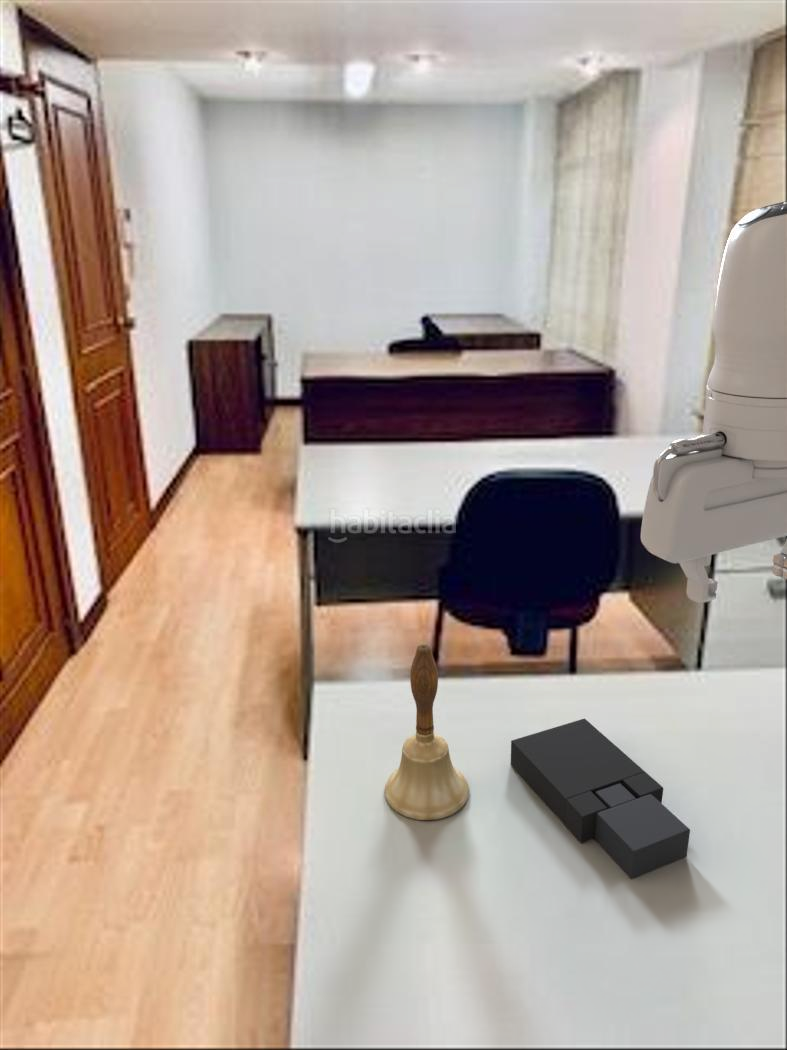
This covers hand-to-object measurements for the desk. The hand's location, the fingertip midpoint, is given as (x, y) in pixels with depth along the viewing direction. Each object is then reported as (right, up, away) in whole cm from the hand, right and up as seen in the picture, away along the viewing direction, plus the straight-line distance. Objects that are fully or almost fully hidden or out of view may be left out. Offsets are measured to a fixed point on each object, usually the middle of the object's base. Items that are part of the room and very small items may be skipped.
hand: (744, 587), depth 63 cm
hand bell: (-26, -21, +11) cm, 35 cm away
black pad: (-11, -21, +11) cm, 26 cm away
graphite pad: (-8, -23, +4) cm, 25 cm away
